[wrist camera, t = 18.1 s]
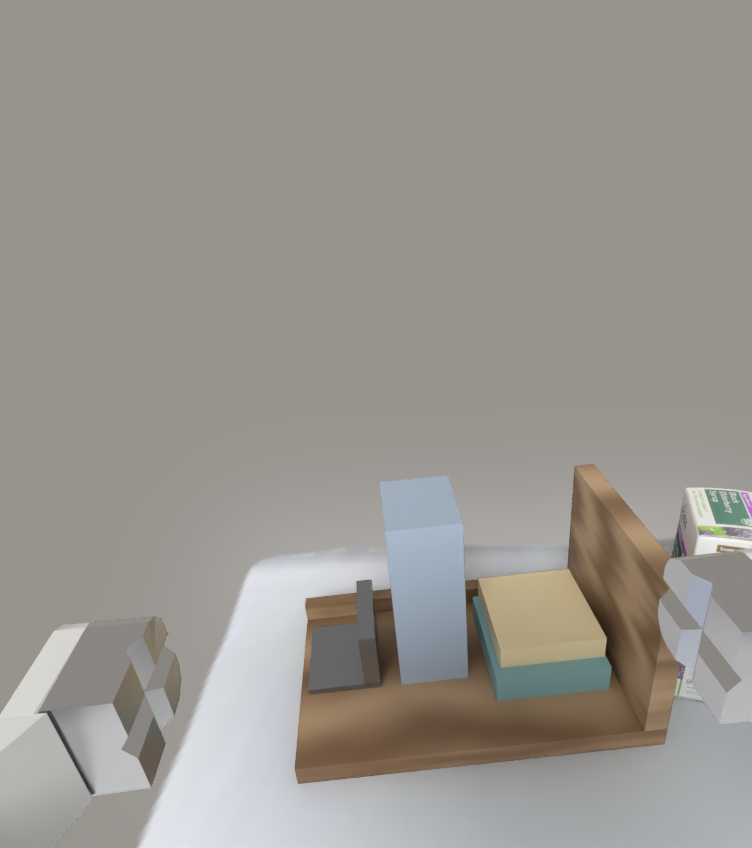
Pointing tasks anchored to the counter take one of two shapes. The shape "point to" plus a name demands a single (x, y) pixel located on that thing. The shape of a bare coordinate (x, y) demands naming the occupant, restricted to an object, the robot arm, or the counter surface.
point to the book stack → (539, 636)
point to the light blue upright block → (426, 578)
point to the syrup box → (710, 539)
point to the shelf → (474, 696)
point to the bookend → (347, 650)
